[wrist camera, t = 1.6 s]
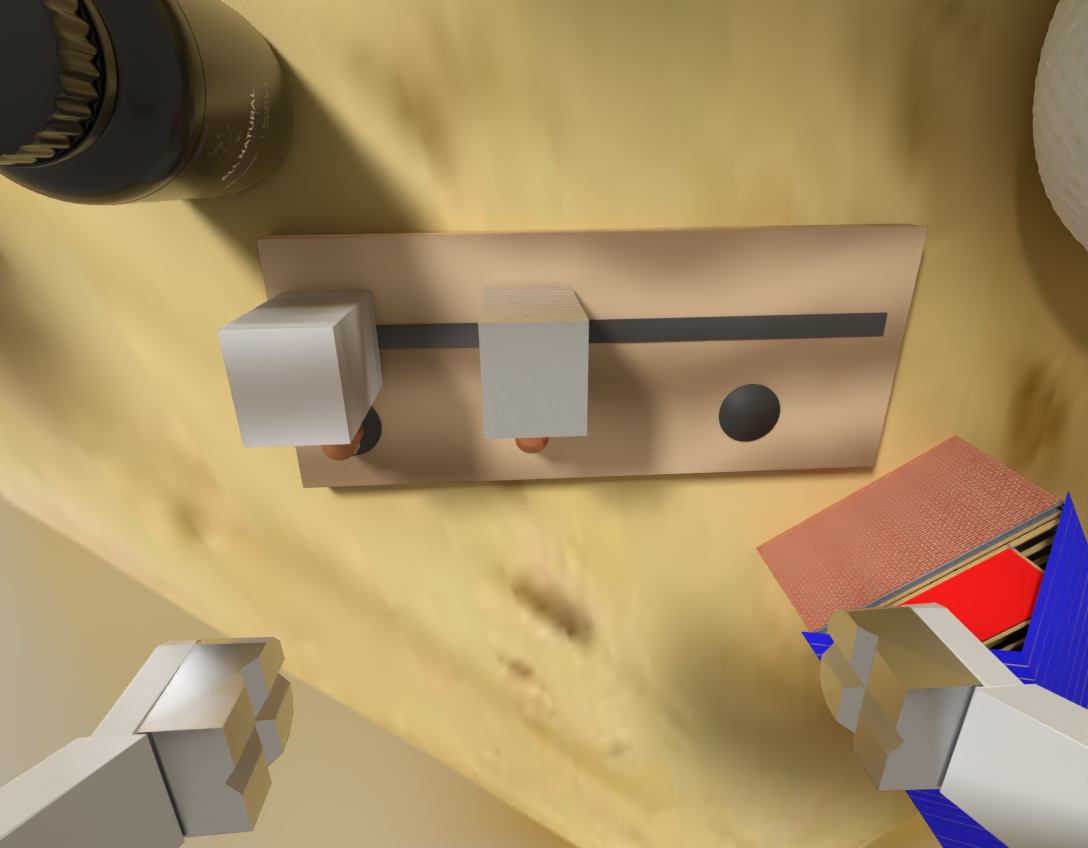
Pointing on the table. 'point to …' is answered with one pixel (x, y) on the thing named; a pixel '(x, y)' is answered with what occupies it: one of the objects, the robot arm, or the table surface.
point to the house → (951, 575)
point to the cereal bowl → (1064, 116)
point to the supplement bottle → (137, 100)
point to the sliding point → (533, 364)
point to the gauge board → (613, 355)
